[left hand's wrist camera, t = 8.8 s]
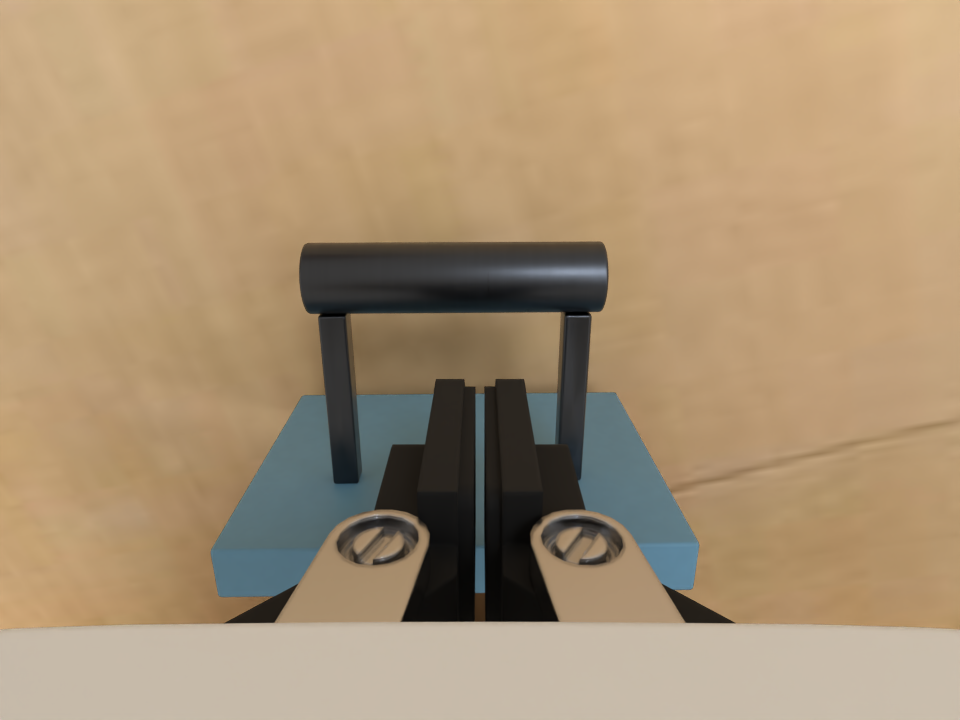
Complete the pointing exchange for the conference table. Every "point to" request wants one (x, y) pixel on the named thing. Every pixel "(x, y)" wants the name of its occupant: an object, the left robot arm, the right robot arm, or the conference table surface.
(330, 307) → the drawer
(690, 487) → the conference table surface
